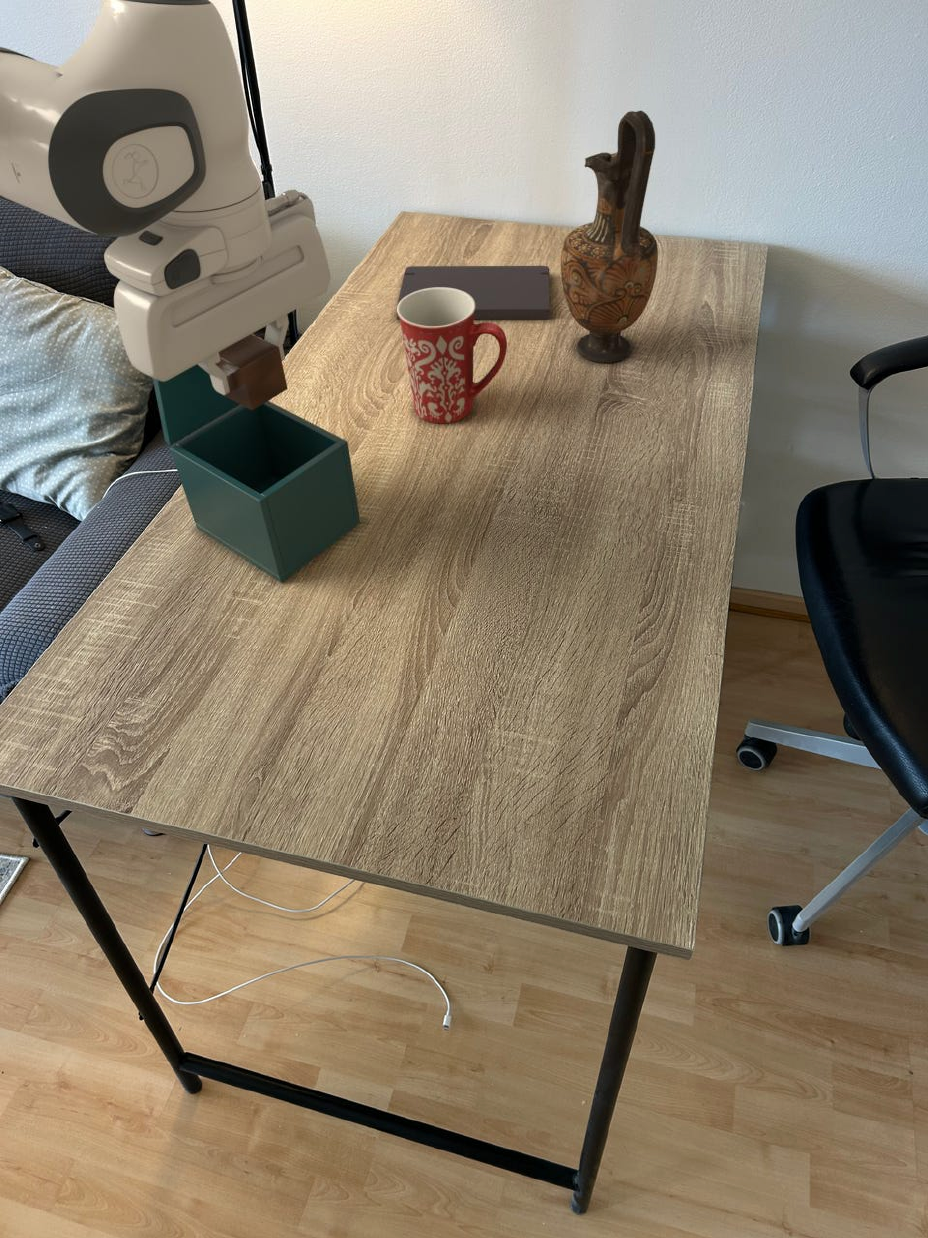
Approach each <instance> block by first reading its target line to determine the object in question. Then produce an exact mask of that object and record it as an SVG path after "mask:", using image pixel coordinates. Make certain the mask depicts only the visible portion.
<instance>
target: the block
mask: <svg viewBox="0 0 928 1238" xmlns="http://www.w3.org/2000/svg"><path fill="white" fill-rule="evenodd" d="M219 356H220V362H218V363H215V364H216V365H217V366H218V367H220V366H222V367H224V368H226V369H227V370H230V371H232V372H234V375H235V379H236V381H235V382H237V388H236V389H234V390H233V391H231V392H229V393H227V394H226V395H224V396H226V397H227V398H229V399H231V400H233V401H235V402H237V403H239V405H243V406H244V407H246V408H248V409H250V410H254V409H256V408H257V407H259V406H261V405H262V404H264V403H266V402H267V401H270V400H272V399H273V398H274V399H275V397H277V396H279V395H280V394H282V393H283V392H285V391H287V390H288V384H287V378H286V375H285V374H286V373H285V369H284V364H283V361H282V359H281V355H280V350H279V347H278V346H276V345H274V344H271V343H269V342H267V341H265V340H264V339H262V338H261V337H259V336H257V335H255V334H254V335H252V334H250V335H249V336H247V337H245V338H243V339H241V340H240V341H238V342H236V343H234V344H232V345H231V346H229V347H227V348H225V349H223V350H222V351H220V352H219ZM222 395H223V394H222Z"/></svg>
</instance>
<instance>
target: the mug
mask: <svg viewBox="0 0 928 1238" xmlns="http://www.w3.org/2000/svg"><path fill="white" fill-rule="evenodd" d="M397 304H398V303H397ZM396 308H397V312H396V315H397V314H398V317H399V318H400V319H399V322H400V329H401V335H402V343H403V347H404V354H405V359H406V365H407V373H408V378H409V384H410V390H411V397H412V403H413V409H414V413H416V415H417V416H418V417H419V418H420V419H422V420H423V421H425V422H429V423H433V424H449V423H454V422H457V421H460V420H462V419H464V418H465V417H467V416H468V415H469V414H470V413H471V411H472V410H473V405H474V398H475V397H477V396H478V395H479V394H480V393H481V392H482V391H483V390H485V388H486V387H487V386H488V385H489V384H490V383H491V381H492V380H493V379H494V378H495V377H496V375H497V374H498V373H499V372H500V370H501V368H502V366H503V365H504V362H505V359H506V355H507V348H508V341H507V340H508V339H507V336H506V333H505V331H504V330H503V328H502V327H501V326H500V325H498V324H495V322H488V321H486V322H485V321H484V322H481V323H474V322H475V319H474V312H475V308H476V304H475V301H474V299H473V298H472V297H471V296H470V295H469V294H467V293H466V292H464V291H461V290H458V289H454V288H446V287H435V288H427V289H422V290H418V291H416V292H413V293H411V294H409V295H407V296H406V297H404V298H403V299H402V300H401V301H400V302H399V304H398V306H397V305H396ZM482 335H490V336H492V337H494V338H495V340H496V341H497V343H498V346H499V352H498V356H497V359H496V361H495V363H494V364H493V366H492V367H491V369H490V370H489V371H488V372H487V374H485V376H483V378H482V379H480V380H479V381H478V382H475V381H474V347H475V346H476V345H477V342H478V339H479V337H481V336H482Z"/></svg>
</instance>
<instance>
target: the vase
mask: <svg viewBox="0 0 928 1238" xmlns="http://www.w3.org/2000/svg"><path fill="white" fill-rule="evenodd" d="M655 150H656V132H655V127H654V124H653V122H652V119H651V118H650V117H649V115H648V114H647V113H646V112H645V111H643V110H637V111H633V110H631V111H627V112H626V113H625V114H624V116H622V117H621V119H620V121H619V123H618V128H617V150H616V151H617V152H614V153H610V152H600V153H597V154H593V155H590V156H587V157H585V158H584V162H585V163H584V168H589V169H591V170H592V171H593V173H594V174H595V178H596V183H597V201H596V209H595V215H594V219H593V221H591V222H588V223H584V224H583V225H580V226H578V227H577V228H574V229H573V230H572V231H570V232H569V233H568V234H567V235H566V237H565V238H564V240H563V243H562V246H561V247H562V248H561V254H560V275H561V283H562V290H563V294H564V297H565V301H566V305H567V307H568V310H569V312H570V314H571V316H572V318H573V320H575V322H576V323H577V324H578V325H579V326H581V328H584V329H585V330H586V331H588V332H589V333H587V334H585V335H584V336H582V337H581V338H580V339H579V340H578V342H577V344H576V352H577V353H578V354H579V355H580V356H581V357H582V358H583V359H585V360H587V361H591V362H595V363H601V364H611V363H616V362H620V361H621V360H622V361H623V360H625V358H627V357H628V356H629V355H630V353H631V350H632V347H631V344H630V342H629V340H628V339H627V338H625V337H624V336H622V331H625V330H626V329H629V328H630V327H631V326H632V325H633V324H635V323H636V322H637V321H638V320H639V318H640V317H641V316H642V314H643V313H644V311H645V309H646V308H647V305H648V303H649V300H650V298H651V295H652V292H653V290H654V286H655V282H656V278H657V271H658V263H659V261H658V260H659V248H658V243H657V240H656V238H655V236H654V235H653V234H652V232H650V231H649V230H648V229H647V228H645V227H643V226H641V222H642V221H641V220H642V215H643V209H644V203H645V199H646V193H647V189H648V183H649V178H650V172H651V169H652V163H653V159H654V154H655Z"/></svg>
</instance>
